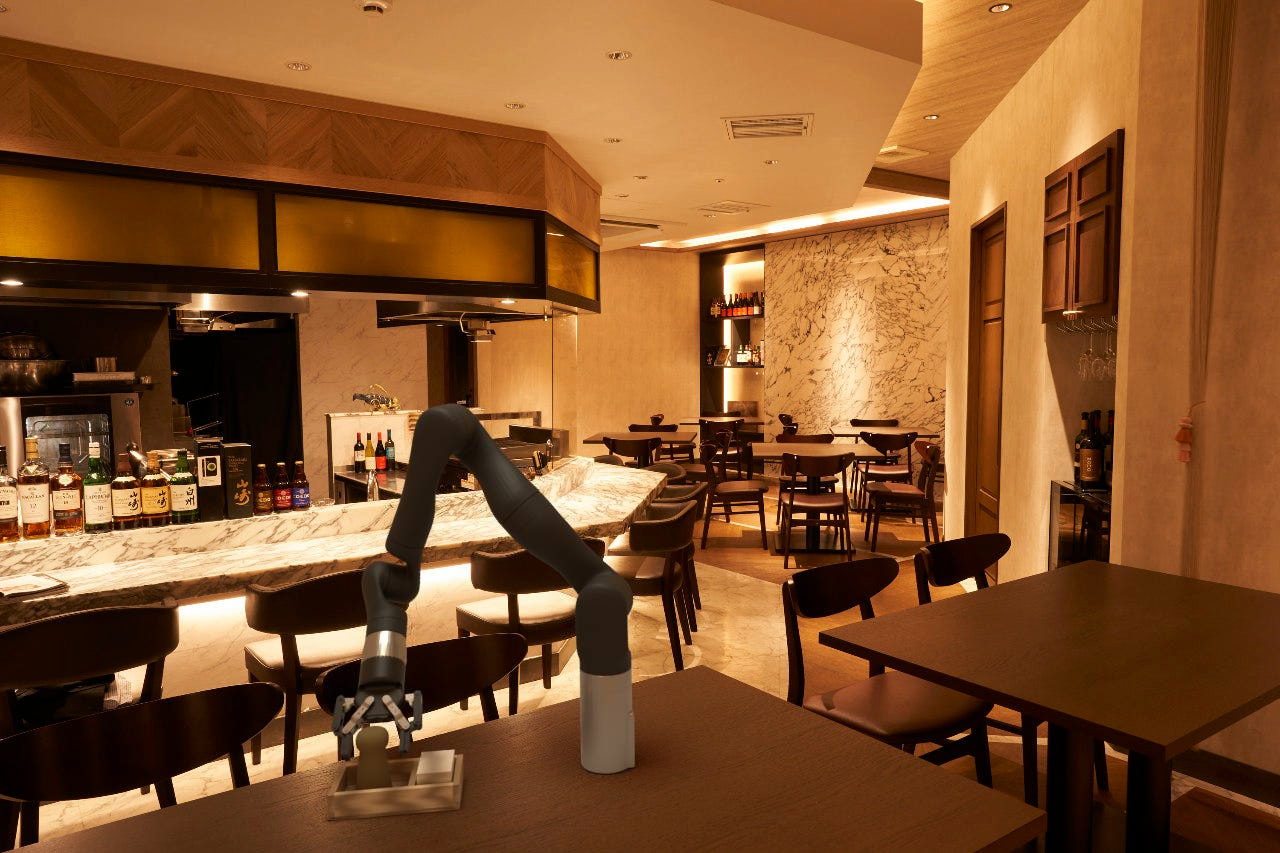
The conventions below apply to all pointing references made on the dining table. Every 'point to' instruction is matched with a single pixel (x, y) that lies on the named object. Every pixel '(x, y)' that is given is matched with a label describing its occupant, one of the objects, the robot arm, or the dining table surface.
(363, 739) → the olive pawn
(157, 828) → the dining table surface
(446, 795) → the caddy
